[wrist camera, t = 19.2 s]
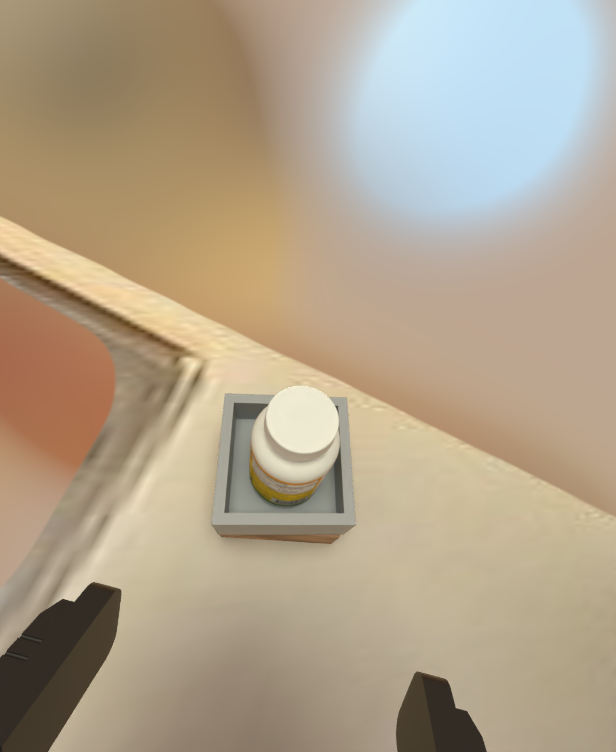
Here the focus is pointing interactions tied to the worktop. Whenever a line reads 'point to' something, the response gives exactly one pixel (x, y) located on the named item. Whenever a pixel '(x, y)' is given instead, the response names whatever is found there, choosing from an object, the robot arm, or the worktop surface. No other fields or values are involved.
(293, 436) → the supplement bottle
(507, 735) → the worktop surface
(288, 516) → the tower top
